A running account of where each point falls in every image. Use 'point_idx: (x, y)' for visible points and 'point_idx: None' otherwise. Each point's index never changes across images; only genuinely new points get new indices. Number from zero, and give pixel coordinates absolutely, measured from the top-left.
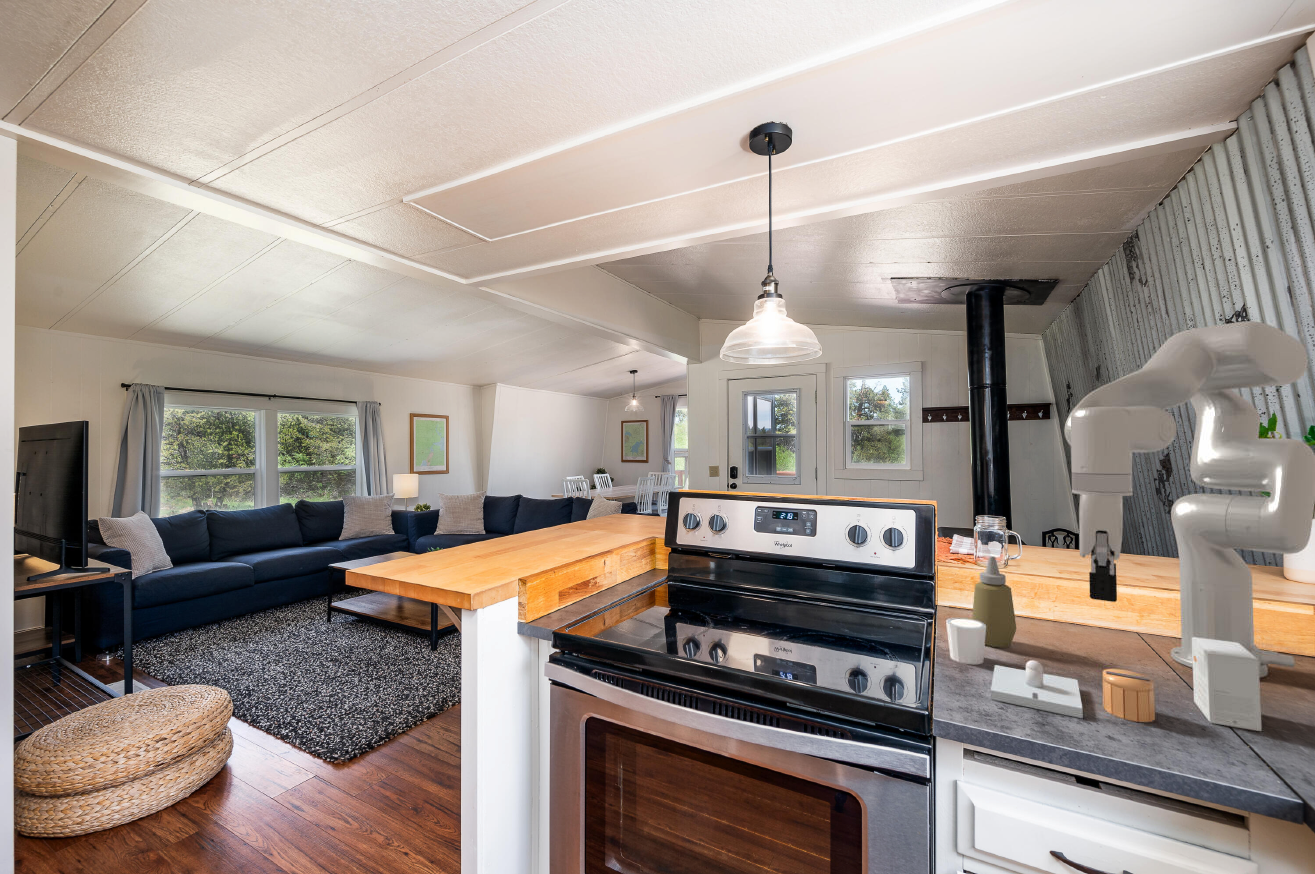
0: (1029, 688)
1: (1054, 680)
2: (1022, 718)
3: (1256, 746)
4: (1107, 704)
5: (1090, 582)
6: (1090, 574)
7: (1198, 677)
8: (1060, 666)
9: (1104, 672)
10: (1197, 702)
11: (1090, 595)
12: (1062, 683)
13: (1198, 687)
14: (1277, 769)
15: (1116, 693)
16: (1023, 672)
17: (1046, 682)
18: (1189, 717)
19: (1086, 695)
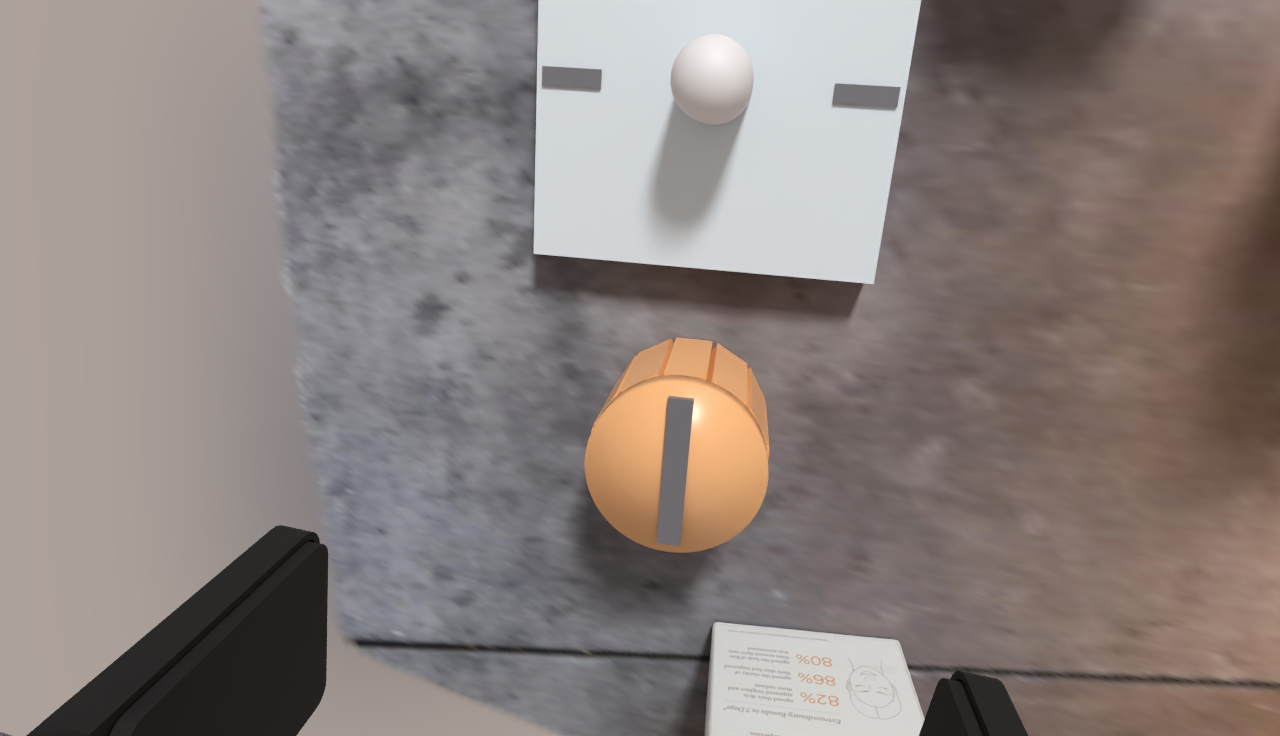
0: (654, 58)
1: (817, 182)
2: (421, 23)
3: (594, 669)
4: (654, 352)
5: (160, 629)
6: (68, 710)
7: (843, 718)
8: (1167, 242)
9: (686, 391)
10: (851, 643)
11: (266, 537)
12: (791, 213)
13: (844, 686)
14: (469, 658)
15: (611, 396)
16: (874, 39)
17: (773, 143)
18: (736, 579)
19: (797, 298)
